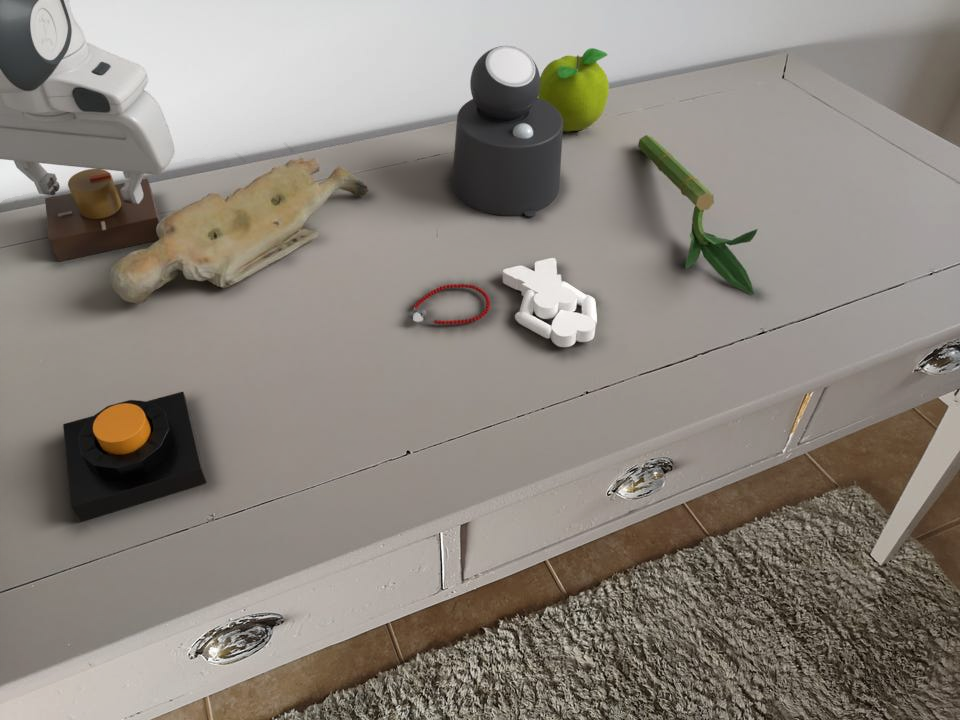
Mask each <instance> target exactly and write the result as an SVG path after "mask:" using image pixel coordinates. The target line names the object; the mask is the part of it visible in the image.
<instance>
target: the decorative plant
mask: <svg viewBox="0 0 960 720" xmlns="http://www.w3.org/2000/svg"><path fill="white" fill-rule="evenodd" d="M637 147H638V148H639V150H640V151H641V152H642V153H643V154H644V155H645V156H646V158H648V159H649V161H651V162H652V163H653V164H654V165H655V166H656V167H657V169H658V170H659V172H662V173H663V175H664V176H665V177H667V179H669V180H670V182H671V183H673V184H674V186H675V187H676V188H677V189H678V190H679V191H680V193H681V195H683V196H684V197H686V198H687V199H688V200H689V201H690V202H691V203H692V204H693V205H694V209H693V213H692V217H691V218H692V219H691V222H692V223H691V231H690V234H689V237H690V243H689V248H688V252H687V256H686V260H685V267H684V269H685V270H686V269H688V268H689V267H691V266H693V264H695V263H696V262H697V261H698V259H699V258H700V255H701V253H702V256H703V258H704V259H705V260H706V261H707V262H708V264H709V265H710V266H711V267H712V268H713V270H715V272H716V273H717V274H718V275H719V276H720V277H722V279H724V280H725V281H726V282H727V283H728V284H730V285H731V286H733V287H735V288H737V289H739V290H741V291H743V292H745V293H749V294H751V295H755V290H754V288H753V284H752V282H751V279H750V277H749V274H748V273H747V270H746V269H745V268H744V266H743V264H742V263H741V262H740V261H739V259H738V257H736V256H735V255H734V253H733V252H732V251H731V250H730V248H729V247H728V246H736V245H739V244H745V243H750V242H752V240H753V239H754V237H755V236H756V235H757V232H758V228H756V229H754V230H751V231H747V232H746V233H743V234H741V235H739V236H737V237H735V238H733V239H727V238H721V237H718V236H716V235H714V234H711V233H708V232H706V231H705V230H704V227H703V216H704V211H708V210H709V209H710V208H711V207H712V206H713V205H714V204H715V201H714V194H712V193H711V191H710V190H708V189H707V188H706V186H705V185H703V184H702V183H701V182H700V181H699V179H698V178H696V177H695V176H694V175H692V173H691V172H690V171H688V170H687V168H686V167H684V166H683V165H682V164H681V163H680V162H679V161H678V160H677V159H676V158H675V157H674V156H673V155H672V154H671V153H670V152H668V151H667V149H666V148H664V147H663V146H662V145H661V144H660V143H659V141H657V140H656V139H655V138H654V137H653V136H650V135H647V134H646V135H644V136H642V137H640V138H639V140H638V144H637Z"/></svg>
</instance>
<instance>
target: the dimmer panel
mask: <svg viewBox="0 0 960 720" xmlns="http://www.w3.org/2000/svg"><path fill="white" fill-rule="evenodd" d="M125 183H126V182H121V183H117V184H115V187H116V190H117V192H118V195H119V198H120V201H121V207H120V209H119V210H118V211H117V212H116V213H114V214H113V215H111V216H108V217H105V218H101V219H89V218H85V217H83V216H82V215H81V214H80V213H79V211H78V208H77V206H76V203H75V201H74V199H73V196H72V194H71V192H70V193H65V194H59V195H52V196H49V197H48V196H47V197H45V198H44V203H45V204H44V205H45V213H46V214H45V215H46V225H47V233H48V234H47V235H48V241H49V243H50V245H51V248H52V250H53V252H54V254H55V256H56V259H57V261H58V262H64V261H68V260H73V259H78V258H82V257H87V256H92V255H96V254H100V253H105V252H110V251H115V250H120V249H124V248H128V247H133V246H138V245H144V244H148V243H151V242H153V243H154V242H156V241H157V240H159V237H158V235H157V232H156V227H157V224H158V223H159V222H160V221H161V220H160V216H159V212H158V211H159V210H158V208H157V207H158V206H157V203H156V200H155V197H154V193H153V190H152V187H151V184H150V181H149V179H148V178H142V181H141V183H140V184H141V187H142V191H143V199H142V200H141V202H140V203H139V204H134V203H127V202H124V201H123V198H124V197H123V196H122V195H121V192H120V190H121V188H122V187H123V186H125V185H124V184H125Z"/></svg>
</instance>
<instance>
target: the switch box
mask: <svg viewBox="0 0 960 720" xmlns="http://www.w3.org/2000/svg"><path fill="white" fill-rule="evenodd" d="M123 403H128V404H134V405H137V406H138V407H140V408H141V409H142V410H143V411H144V413H145V416H146V418H147V420H148V422H149V425H150V427H151V433H150V436H149V439H148V440H147V442H146V443H145V444H144V445H143V446H142V447H140V448H139V449H137V450H136V451H134V452H131V453H128V454H123V455H114V454H110V453H108V452H106V451H104V450H103V449H102V447H101V446H100V444H99V442H98V440H97V438H96V436H95V435H94V432H93V424H94V421H95V419H96V418H97V417H98V415H99V414H100V413H101V412H103V411H104V410H106V409H107V408H109V407H111V406H114V405H117V404H123ZM191 413H192V412H191V409H190V405H189V402H188V401H187V397H186V395H185V392H184V391H179V392H176V393H173V394H168V395H165V396H160V397H157V398H154V399H150V400H146V401H145V400H137V399H129V400H125V401H121V402H117V403H113V404H110V405H107V406H105V407H104V408H103V409H102V410H100V411H98V412H97V413H95V414H93V415H92V416H91V415H90V416H88V417H84V418H80V419H77V420H73V421H69V422H66V423H63V424H62V429H63V437H64V438H63V440H64V449H65V460H66V461H65V462H66V470H67V481H68V482H67V483H68V491H69V493H68V494H69V503H70V509H71V511H72V512H73V513H74V515H75V516H76V518H77V519H78V521H79V522H80V523H82V522H86V521H89V520H92V519H96V518H99V517H102V516H105V515H108V514H111V513H115V512H118V511H121V510H124V509H127V508H130V507H134V506H138V505H140V504H143V503H147V502H151V501H154V500H156V499H160V498H163V497H166V496H169V495H172V494H173V495H174V494H176V493H179V492H182V491H186V490H189V489H192V488H196V487H199V486H203V485H206V484H207V477H206V473H205V469H204V465H203V461H202V456H201V452H200V447H199V443H198V440H197V434H196V431H195V426H194V422H193V418H192V417H193V416H192V414H191Z"/></svg>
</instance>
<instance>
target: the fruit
mask: <svg viewBox="0 0 960 720" xmlns="http://www.w3.org/2000/svg"><path fill="white" fill-rule="evenodd" d="M605 57H608V53H607V52H605V51H603V50H600V49H597V48H593V47H590V48H588V49H587V50H585V51H584V53H583V54H582V56H581V55H580V56H579V55H576V56H573V55H564V56H562V57H560V58H558V59H555V60H552V61H550V62H549V63H548V64H547V65H546V66H545V67H544V69H543V70H542V72H541V74H540V92H539V95H538V98H539V99H542V100H544V101H546V102H548V103H549V104H551V105H552V106H553V107H555V108H556V109H557V110H558V111H559V113H560V114H561V116H562V119H563V132H567V133H568V132H569V133H570V132H576V131H577V132H578V131H582V130H585V129H587V128H589V127H590V126H593V124H594V123H596V122H597V121H598V119H600V117H601V116H602V114H603V112H604V109H605V107H606V105H607V101H608V97H609V91H610V86H609V85H610V84H609V79H608V76H607V74H606V71H604V69H603V68H602V67H601V66H600V65H599V63H598V61H600V60H602V59H604V58H605Z"/></svg>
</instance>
